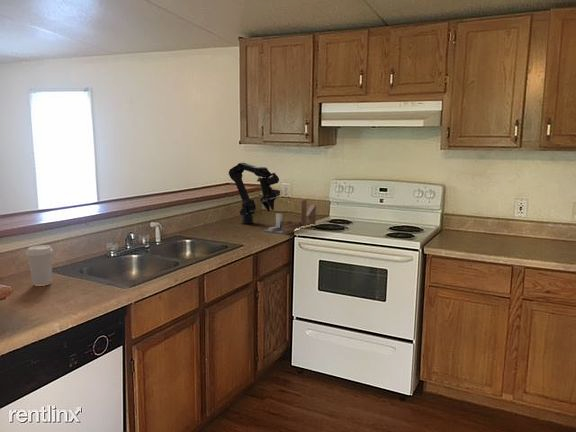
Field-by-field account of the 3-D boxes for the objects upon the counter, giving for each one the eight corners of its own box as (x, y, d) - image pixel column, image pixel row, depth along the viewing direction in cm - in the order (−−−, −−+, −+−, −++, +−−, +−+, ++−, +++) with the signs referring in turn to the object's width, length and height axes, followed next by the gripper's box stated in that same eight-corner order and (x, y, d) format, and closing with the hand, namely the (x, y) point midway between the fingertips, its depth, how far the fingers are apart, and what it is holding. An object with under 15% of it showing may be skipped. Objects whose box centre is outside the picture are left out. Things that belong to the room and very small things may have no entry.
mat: (263, 231, 295) (263, 230, 295) (280, 226, 310) (280, 225, 310) (284, 234, 286) (284, 233, 286) (301, 229, 301) (301, 228, 301)
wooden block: (315, 226, 311) (315, 199, 308) (303, 228, 304) (303, 200, 301) (311, 225, 314) (311, 198, 311) (299, 227, 307) (299, 199, 304)
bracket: (268, 230, 294) (268, 214, 292) (278, 228, 299) (277, 213, 297) (272, 231, 291) (272, 215, 289) (282, 229, 296) (282, 213, 294)
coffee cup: (23, 286, 188) (19, 249, 185) (43, 279, 197) (40, 244, 194) (41, 289, 185) (38, 251, 182) (61, 282, 193) (58, 245, 191)
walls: (263, 230, 295) (263, 223, 295) (280, 225, 310) (280, 219, 309) (284, 233, 286) (284, 226, 286) (301, 228, 301) (301, 222, 300)
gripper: (281, 182, 300) (287, 206, 300) (273, 186, 318) (278, 209, 318) (264, 185, 297) (270, 210, 296) (257, 189, 314) (262, 213, 314)
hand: (270, 210), depth 306 cm, fingers open, 9 cm apart
